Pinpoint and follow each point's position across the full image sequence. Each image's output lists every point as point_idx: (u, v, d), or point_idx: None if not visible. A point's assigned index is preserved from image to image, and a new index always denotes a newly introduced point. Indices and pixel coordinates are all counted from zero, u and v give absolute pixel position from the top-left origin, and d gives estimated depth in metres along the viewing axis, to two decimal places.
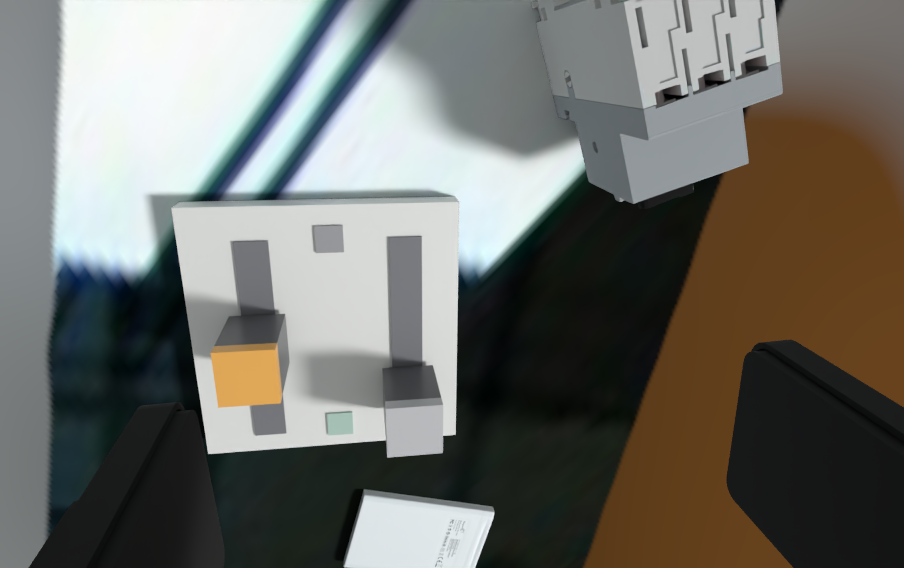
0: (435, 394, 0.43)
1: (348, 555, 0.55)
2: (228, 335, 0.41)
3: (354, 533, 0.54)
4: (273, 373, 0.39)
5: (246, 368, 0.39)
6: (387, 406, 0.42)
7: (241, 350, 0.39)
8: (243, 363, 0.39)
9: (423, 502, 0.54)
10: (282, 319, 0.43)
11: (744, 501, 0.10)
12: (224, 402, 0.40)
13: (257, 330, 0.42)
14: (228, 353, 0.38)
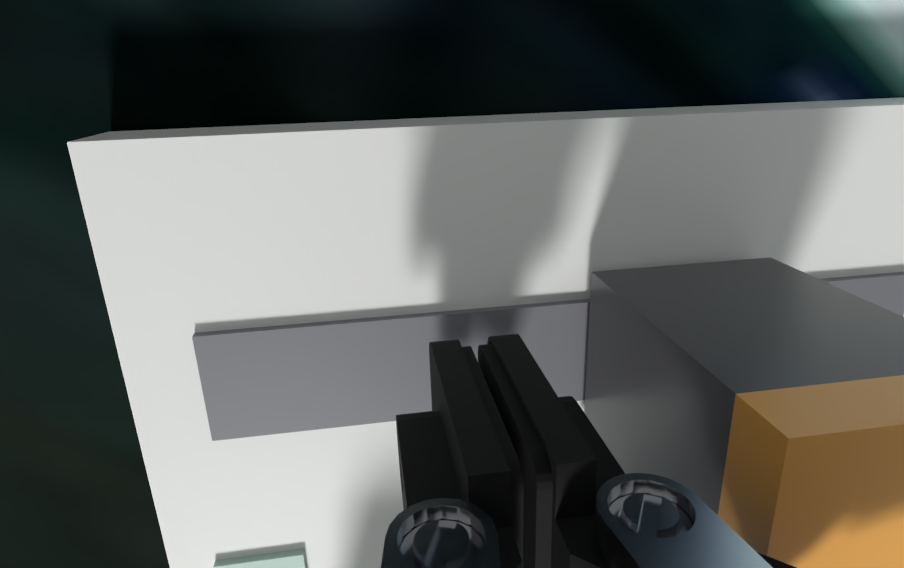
0: None
1: None
2: None
3: None
4: None
5: None
6: None
7: None
8: None
9: None
10: None
11: None
12: (810, 467, 0.07)
13: None
14: None
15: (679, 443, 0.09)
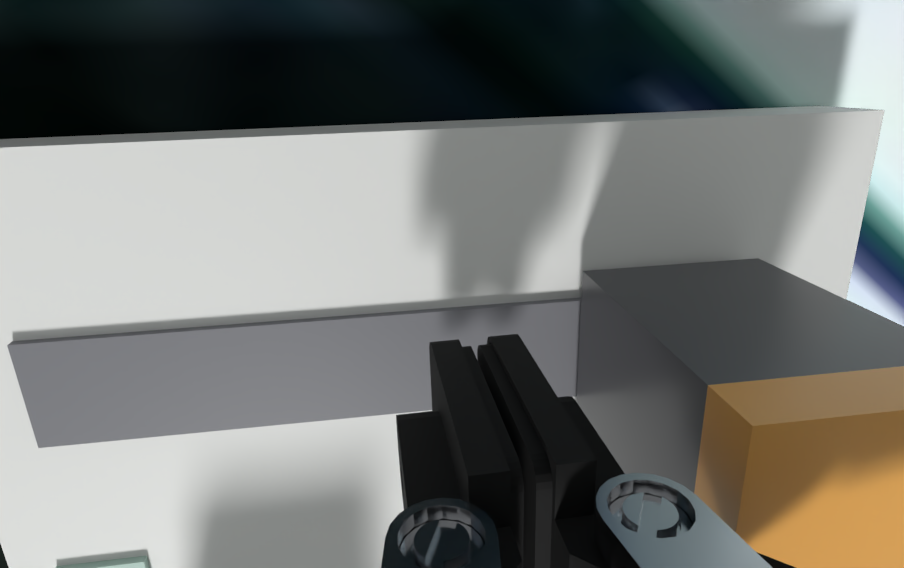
0: None
1: None
2: None
3: None
4: None
5: None
6: None
7: None
8: None
9: None
10: None
11: None
12: (774, 454, 0.07)
13: None
14: None
15: (659, 435, 0.10)
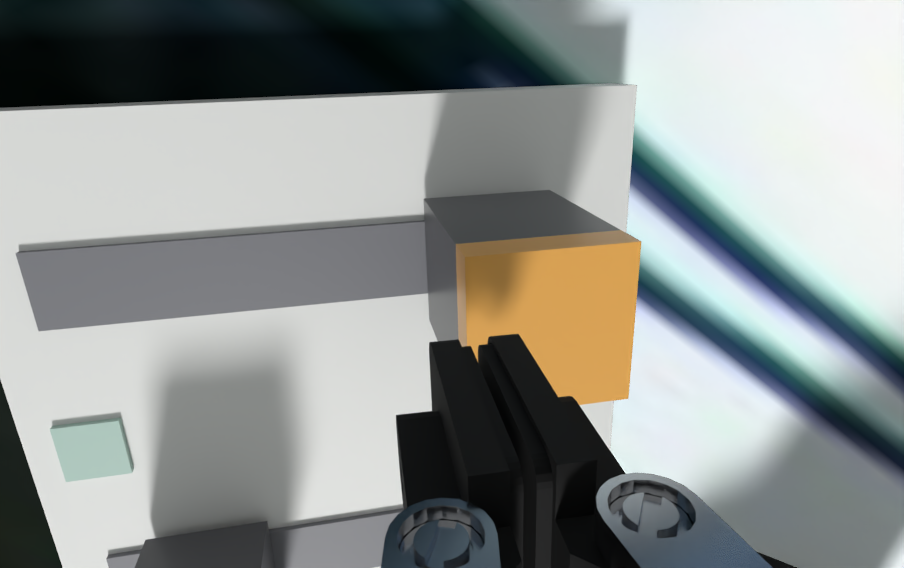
0: None
1: None
2: None
3: None
4: None
5: (583, 332, 0.14)
6: None
7: None
8: (599, 325, 0.14)
9: None
10: None
11: None
12: (481, 275, 0.13)
13: None
14: (632, 288, 0.14)
15: (448, 289, 0.15)
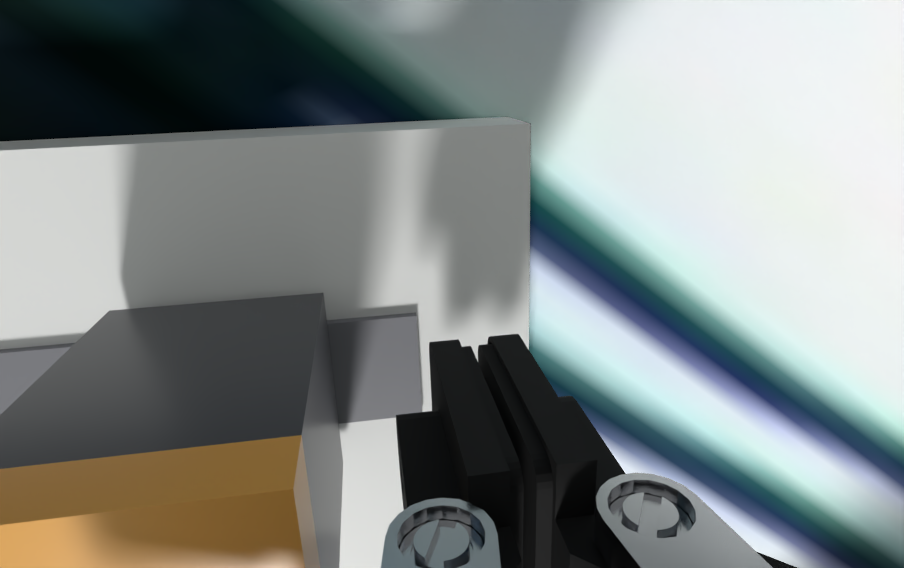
0: None
1: None
2: (316, 410, 0.09)
3: None
4: None
5: None
6: None
7: None
8: None
9: None
10: (341, 490, 0.12)
11: None
12: None
13: (330, 486, 0.10)
14: None
15: None
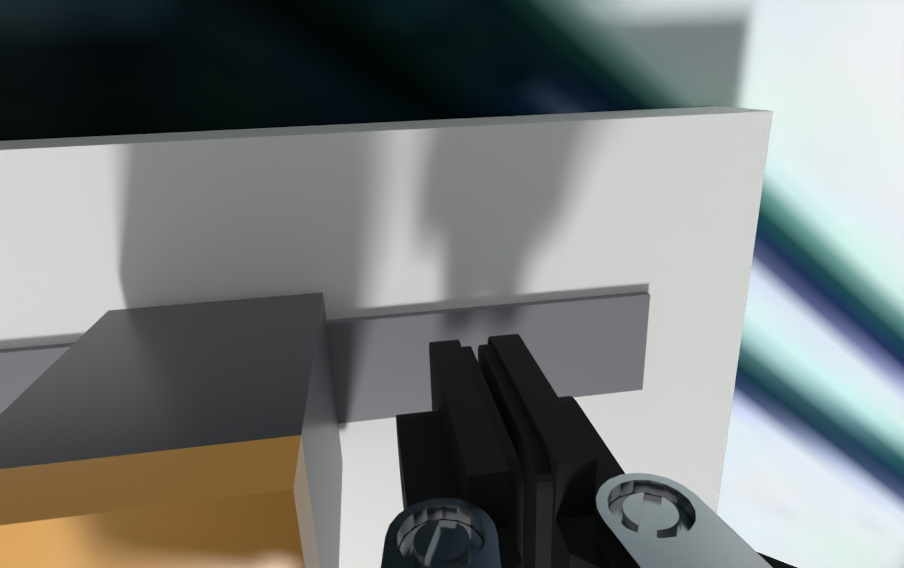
0: None
1: None
2: (315, 410, 0.09)
3: None
4: None
5: None
6: None
7: None
8: None
9: None
10: (340, 490, 0.12)
11: None
12: None
13: (329, 486, 0.10)
14: None
15: None
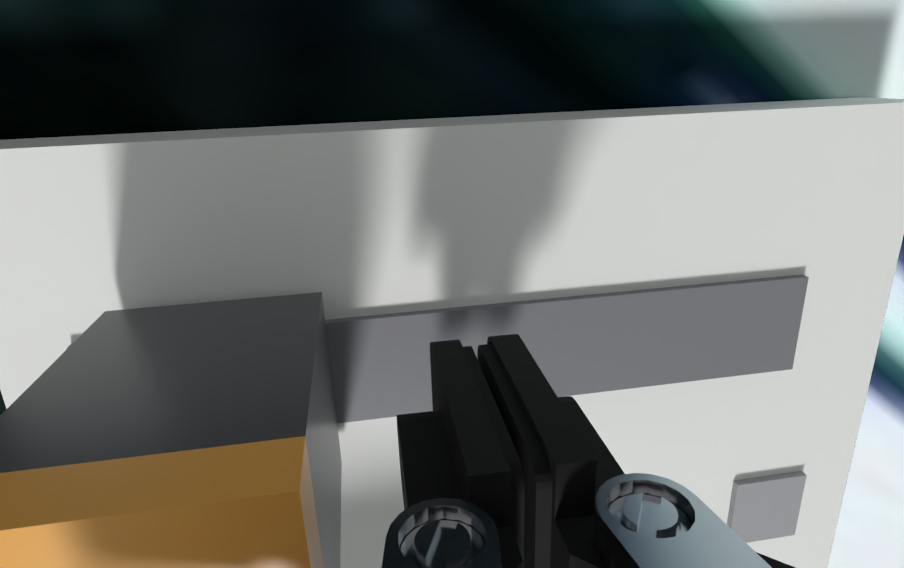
0: None
1: None
2: (317, 410, 0.09)
3: None
4: None
5: None
6: None
7: None
8: None
9: None
10: (340, 490, 0.12)
11: None
12: None
13: (330, 486, 0.10)
14: None
15: None
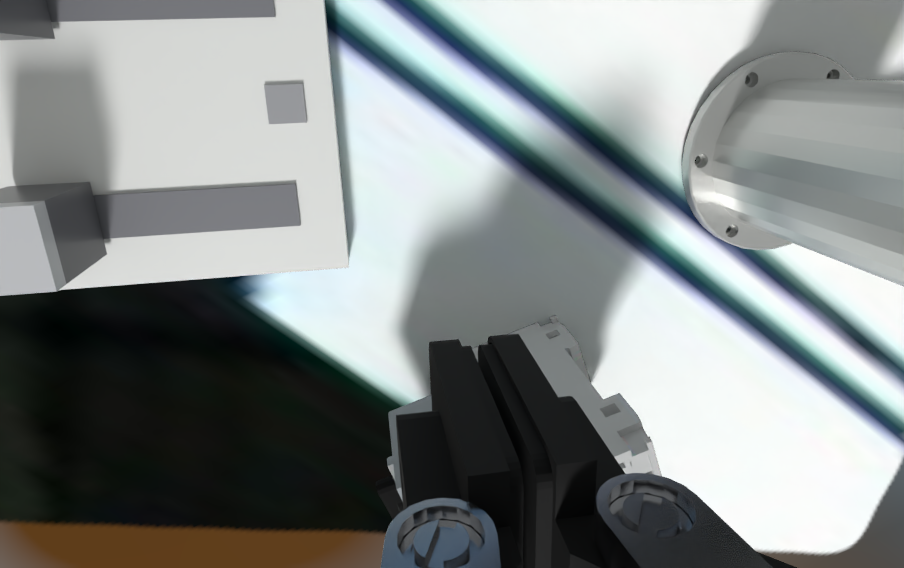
0: (68, 274, 0.29)
1: None
2: None
3: None
4: None
5: None
6: (37, 207, 0.26)
7: None
8: None
9: None
10: (44, 35, 0.28)
11: None
12: None
13: None
14: None
15: None
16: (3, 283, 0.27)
